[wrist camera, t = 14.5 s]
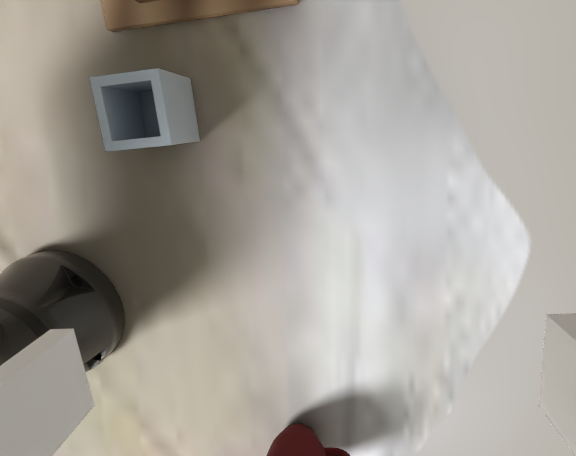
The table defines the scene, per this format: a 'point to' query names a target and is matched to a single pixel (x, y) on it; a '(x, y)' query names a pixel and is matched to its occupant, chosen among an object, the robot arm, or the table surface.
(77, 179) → the table surface
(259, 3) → the cradle
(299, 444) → the mug
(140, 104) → the cup
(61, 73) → the table surface
